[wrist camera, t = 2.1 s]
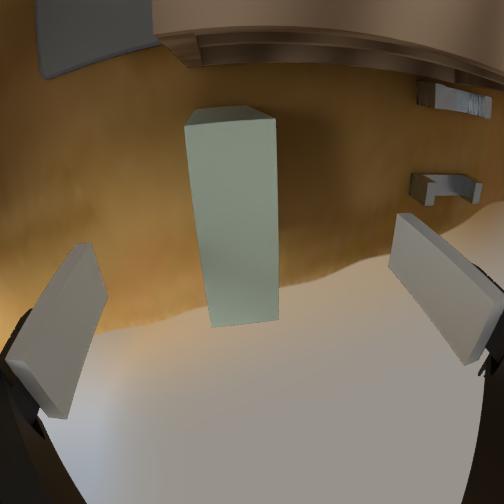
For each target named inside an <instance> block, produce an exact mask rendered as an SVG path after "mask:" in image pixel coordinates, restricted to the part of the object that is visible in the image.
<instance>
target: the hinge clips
mask: <svg viewBox="0 0 504 504" xmlns="http://www.w3.org/2000/svg"><path fill="white" fill-rule="evenodd" d="M417 105H422V106H427V107H431V108H436V109H442V110H444V109H448V110H453V111H459V112H464V113H469V114H472V115H476V116H480V117H483V118H487V119H491V108H492V98H491V97H488V96H485V95H480V94H475V93H470V92H466V91H462V90H458V89H453V88H449V87H445V85H442V84H437V83H430V82H421V81H417ZM482 185H483V183H481V182H479V181H478V180H476V179H474V178H472V177H470V176H468V175H466V174H432V173H412V174H411V182H410V190H409V196H411V197H412V198H414V199H415V200H417V201H418V202H420V203H421V204H423V205H424V206H434V200H435V196H451V195H459V196H460V197H462V198H464V199H465V200H467V201H469V202H470V203H472V204H479V200H480V195H481V190H482Z"/></svg>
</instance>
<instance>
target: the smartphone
mask: <svg viewBox="0 0 504 504" xmlns="http://www.w3.org/2000/svg"><path fill="white" fill-rule="evenodd" d="M35 22H36V36H37V48H38V57H39V66H40V73H41V76H42V77H43V78H45V79H52V78H55V77H57V76H60V75H62V74H65V73H67V72H70V71H73V70H76V69H78V68H81V67H84V66H87V65H90V64H93V63H96V62H99V61H102V60H105V59H109V58H112V57H115V56H119V55H123V54H126V53H130V52H134V51H137V50H141V49H145V48H150V47H154V46H158V45H163V43H162V42H160V41H159V40H158V39H157V38H156V37H155V36H154V35H153V16H152V0H36V2H35Z"/></svg>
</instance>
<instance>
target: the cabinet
mask: <svg viewBox="0 0 504 504" xmlns="http://www.w3.org/2000/svg"><path fill="white" fill-rule="evenodd" d="M152 16H153V35H154V36H155V37H156V38H157V39H158V40H159V41H160V42H162V43H163V44H164V45H165V46H166V47H167V48H168V49H169V50H170V51H171V52H172V53H173V54H174V55H175V56H176V57H177V58H178V59H179V60H180V61H181V62H182V63H183V64H184V65H186V66H187V67H188V68H193V67H202V66H213V65H226V64H243V63H316V64H333V65H345V66H356V67H365V68H373V69H381V70H388V71H395V72H401V73H407V74H412V75H418V76H423V77H428V78H432V79H437V80H442V81H446V82H450V83H454V84H460V85H466V86H473V87H478V88H484V89H489V90H494V91H499V92H504V0H152Z"/></svg>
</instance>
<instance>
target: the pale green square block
mask: <svg viewBox="0 0 504 504" xmlns="http://www.w3.org/2000/svg"><path fill="white" fill-rule="evenodd" d="M184 131H185V141H186V151H187V160H188V169H189V177H190V185H191V194H192V201H193V209H194V217H195V224H196V231H197V238H198V245H199V252H200V259H201V265H202V272H203V278H204V285H205V291H206V297H207V303H208V309H209V315H210V320H211V326H212V328H214V327H224V326H233V325H242V324H250V323H259V322H265V321H274V320H278V319H279V255H280V248H279V241H278V184H277V145H276V119H275V118H273V117H271V116H269V115H267V114H265V113H263V112H261V111H259V110H256V109H254V108H252V107H250V106H248V105H237V106H224V107H213V108H203V109H195V110H194V112H193V113H192V115H191V116H190V118H189V119H188V121H187V122H186V124H185V125H184Z"/></svg>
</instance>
